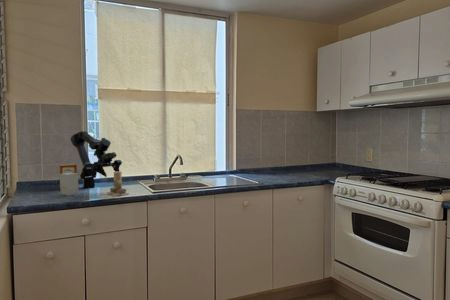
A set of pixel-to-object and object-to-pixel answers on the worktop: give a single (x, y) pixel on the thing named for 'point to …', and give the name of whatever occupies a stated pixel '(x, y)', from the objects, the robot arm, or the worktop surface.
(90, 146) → the robot arm
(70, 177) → the supplement box
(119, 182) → the beech dowel
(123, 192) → the balance ridge
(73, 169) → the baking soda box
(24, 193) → the worktop surface
